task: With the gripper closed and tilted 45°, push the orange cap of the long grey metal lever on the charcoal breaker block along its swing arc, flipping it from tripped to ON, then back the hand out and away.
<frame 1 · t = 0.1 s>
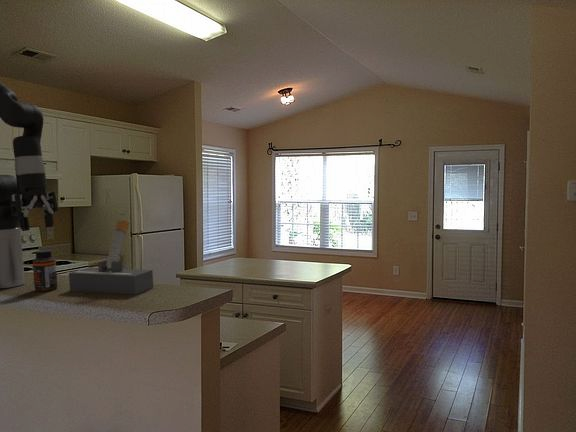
hand: (37, 228, 141), 17 cm above the countertop, tool pointing down, fingers open, 8 cm apart
supplement bottle: (46, 290, 139), on the countertop
breaker block: (111, 289, 137), on the countertop
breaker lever: (116, 245, 139), point 12 cm above the countertop, hinge at -30.0°
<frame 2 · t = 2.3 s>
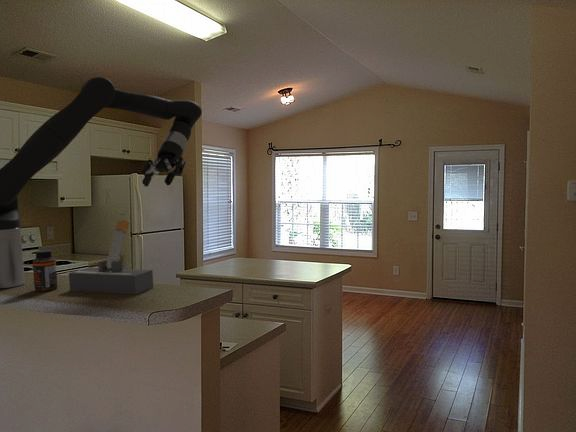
hand: (155, 184, 156), 29 cm above the countertop, tool tilted 40°, fingers open, 8 cm apart
nothing on the countertop moved.
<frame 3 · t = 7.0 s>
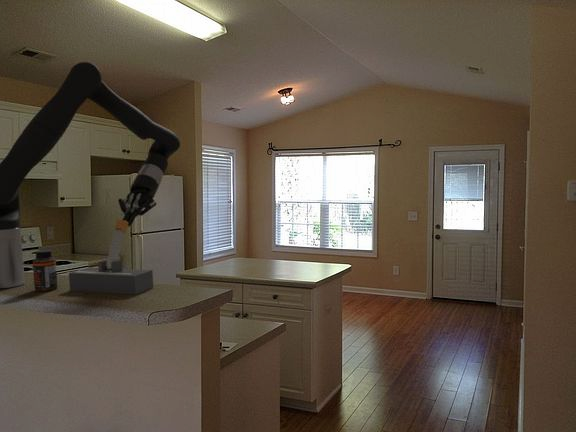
hand: (125, 224, 143), 17 cm above the countertop, tool tilted 45°, fingers closed
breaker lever: (116, 245, 139), point 12 cm above the countertop, hinge at -28.4°, touching gripper
everything else where it was.
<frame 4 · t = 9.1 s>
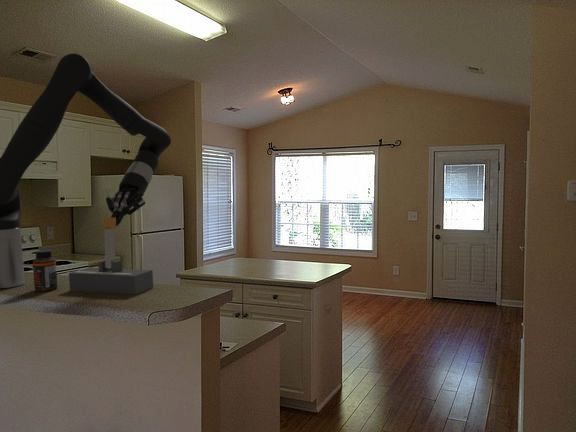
hand: (113, 224, 138), 18 cm above the countertop, tool tilted 45°, fingers closed
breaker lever: (110, 244, 136), point 13 cm above the countertop, hinge at -4.4°, touching gripper
everything else where it was.
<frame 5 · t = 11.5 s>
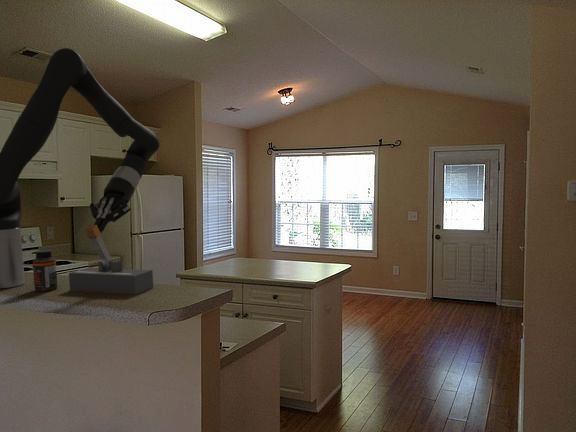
hand: (96, 231, 131), 17 cm above the countertop, tool tilted 45°, fingers closed
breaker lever: (101, 248, 133), point 12 cm above the countertop, hinge at 28.8°, touching gripper
everything else where it was.
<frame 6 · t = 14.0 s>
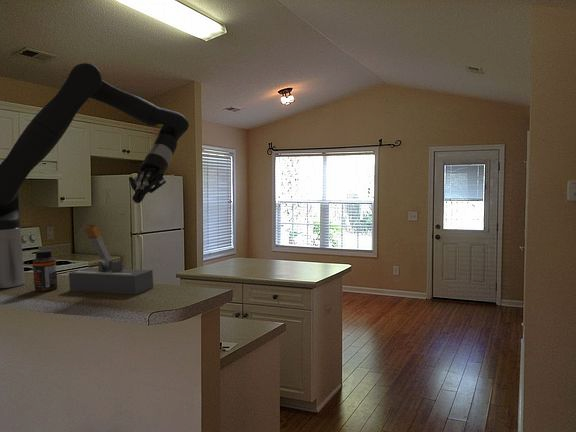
hand: (136, 201, 147), 24 cm above the countertop, tool tilted 45°, fingers closed
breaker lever: (101, 248, 133), point 12 cm above the countertop, hinge at 28.8°
everything else where it was.
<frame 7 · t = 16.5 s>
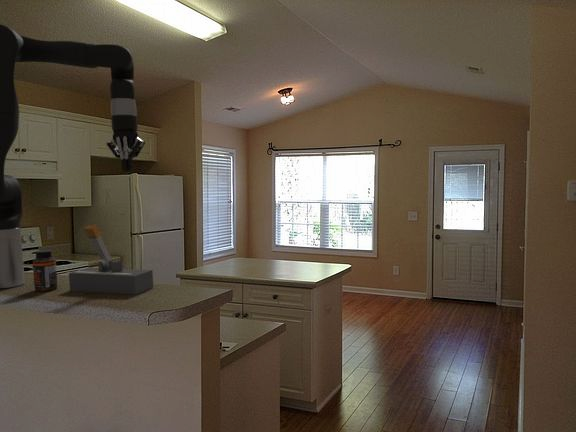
hand: (127, 171, 150), 33 cm above the countertop, tool pointing down, fingers closed
nothing on the countertop moved.
at the end: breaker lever at +29° (first picture: -30°); supplement bottle moved 0.2 cm from its start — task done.
